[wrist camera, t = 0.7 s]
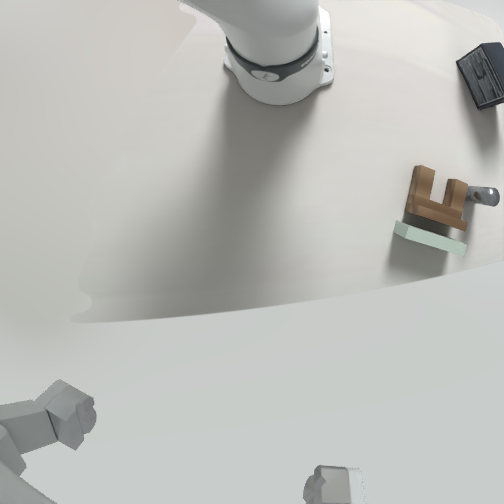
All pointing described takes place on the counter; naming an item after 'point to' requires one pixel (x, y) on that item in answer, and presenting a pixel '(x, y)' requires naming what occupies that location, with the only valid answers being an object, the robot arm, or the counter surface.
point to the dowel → (482, 195)
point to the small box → (485, 74)
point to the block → (433, 210)
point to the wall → (429, 238)
